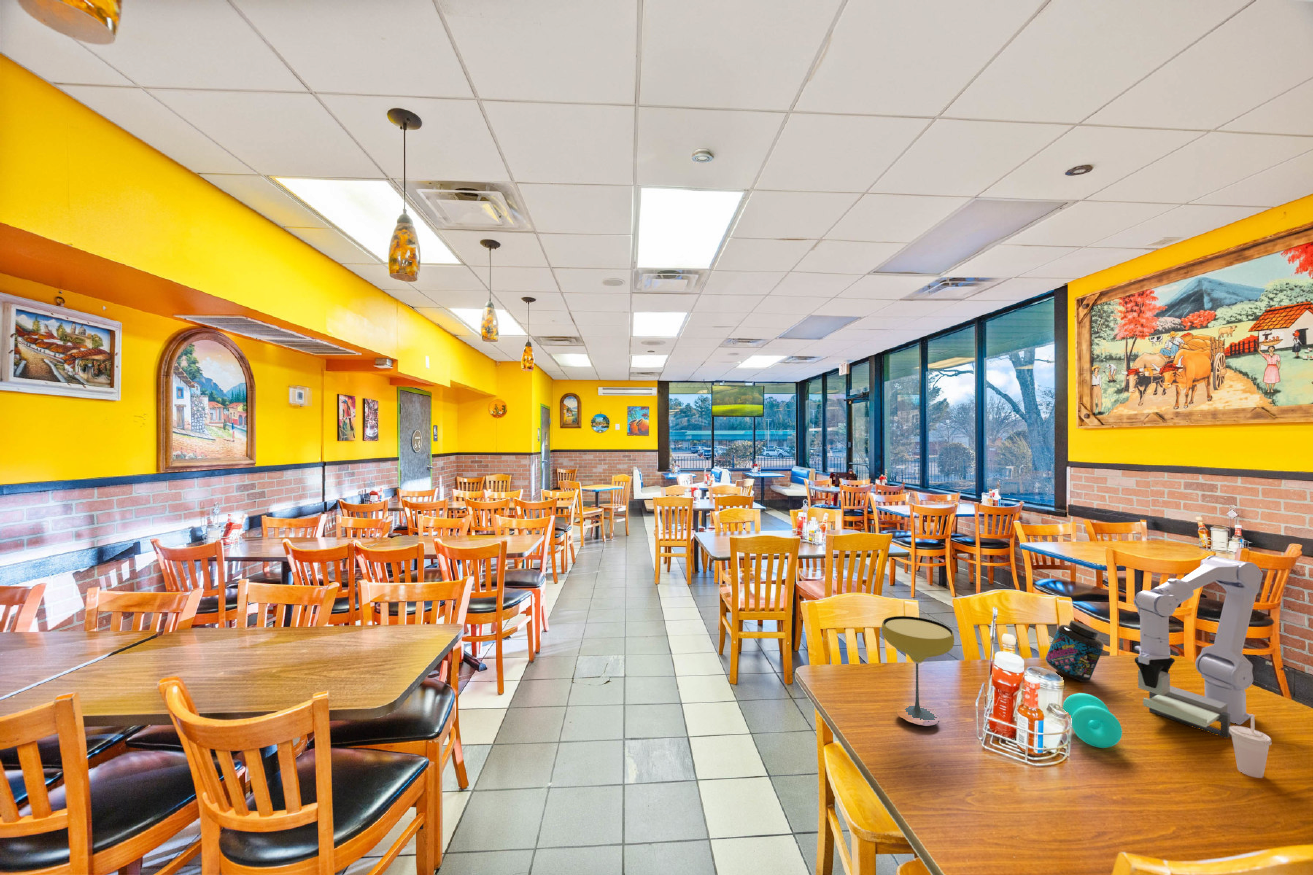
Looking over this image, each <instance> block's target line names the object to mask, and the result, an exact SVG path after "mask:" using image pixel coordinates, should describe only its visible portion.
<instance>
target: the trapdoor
mask: <svg viewBox="0 0 1313 875" xmlns="http://www.w3.org/2000/svg"><path fill="white" fill-rule="evenodd" d="M1142 705H1143V707H1147V708H1152V709H1155V710H1157V711H1160V712H1163V713H1166V714H1169V715H1172V716H1174V717H1177V718H1180V719H1183V720H1186V721H1189V722H1192V723H1194V724H1197V725H1200V726H1203V727H1207V726H1210V725H1212V724H1213V723H1214V722H1219V723H1221V713H1223V712H1226V713H1228V708H1227V704H1226V703H1223V702H1220V701H1217V700H1214V699H1210V698H1207V697H1205V695H1204V696H1203V695H1201V694H1197V693H1194V692H1191V691H1187V690H1186V689H1182V688H1179V687H1175V686H1172V685H1170V692H1169V693H1167V694H1165V695H1163V696H1161V695H1156V696H1154V697H1152V698H1150V699H1149V698H1147V697H1143V698H1142Z"/></svg>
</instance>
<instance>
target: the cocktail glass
mask: <svg viewBox="0 0 1313 875" xmlns="http://www.w3.org/2000/svg"><path fill="white" fill-rule="evenodd" d="M881 634H882V637H883V638H884V640H885V641H886V642H887V643H888V644H889V645H891V646H892V647H893V648H895V649H897V650H898V651H901V652H902V653H903V654H906V655H907V656H909V658H910V659H911V661H913V662H914V664H915V702H914V705H915V706H909V707H908V708H906V709H905V710H906V712H908V715H912V717H913V718H920V720H921V719H923V720H935V719H934V718H937V717H935V716H934V714H932V713H930V711H931V710H930V711H927V709H928V708H926V709H924V708H925V707H923V708H920V707H921V706H920V699H919V698H920V696H919V690H920V688H919V665H920V664H921V663H923V661H925V660H926V659H928V658H933V657H934V658H935V657H939V656H941V655H942V656H943V655H944V654H947V653H948V652H950V651H951V650H952V649H953V648H954V645H955V635H954V631H953V630H952V629H951V628H950V627H949V626H947V625H945V624H943V623H941V622H938V621H935V620H932V619H928V618H923V617H919V616H918V617H917V616H910V615H909V616H907V615H898V616H897V615H895V616H891V617H887V618H885V619H883V621H882V624H881ZM928 722H929V721H928Z"/></svg>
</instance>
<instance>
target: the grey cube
mask: <svg viewBox="0 0 1313 875" xmlns="http://www.w3.org/2000/svg"><path fill="white" fill-rule="evenodd" d="M1137 681H1138V682H1137V687H1138V689H1140V690H1144V691H1146V692H1148V693H1149V692H1152V693H1155V694H1158V695H1161V696H1163V695H1165V694H1167V693H1169V692H1170V686H1171V675H1170V672H1168V673H1166V672H1163V671H1160V673H1159V677H1158V683H1157V686H1156V688H1152V687H1149V686H1146V685H1145V683H1144V680H1143V677H1142V674H1141V671H1140V669H1139V668H1138V670H1137Z"/></svg>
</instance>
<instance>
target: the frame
mask: <svg viewBox="0 0 1313 875" xmlns="http://www.w3.org/2000/svg"><path fill="white" fill-rule="evenodd" d="M1148 694H1149V696H1148V699H1150V698H1152V697H1154V696H1156V695H1158V694H1155V693H1152V692H1149V691H1148ZM1148 708H1149V707H1148ZM1149 712H1150V713H1152V714H1155V715H1158V716H1161V717H1164V718H1166V719H1169V720H1171V721H1175V722H1178V723H1180V724H1182V725H1183V724H1184V725H1186V726H1189V727H1191V726H1193V727H1192V728H1194V727H1195V729H1197V728H1200V729H1203V730H1205V731H1209V732H1211V733H1214V734H1218V735H1220V736H1219V737H1221V736H1222V737H1221V738H1224V737H1226V738H1225V739H1227V738H1228V737H1229V738H1230V737H1232V735H1231V734H1230V732H1229V727H1230V726H1231V722H1230V714H1229V713H1226V712H1223V713H1221V722H1220V729H1218V728H1215V727H1212V726H1210V725H1209V726H1207V727H1203V726H1200V725H1197V724H1194V723H1192V722H1189V721H1186V720H1183V719H1180V718H1177V717H1174V716H1172V715H1169V714H1166V713H1163V712H1160V711H1157V710H1155V709H1152V708H1149V709H1148V713H1149ZM1200 729H1199V730H1200ZM1205 731H1204V732H1205ZM1211 733H1210V734H1211ZM1214 734H1213V735H1214ZM1229 738H1228V739H1229Z"/></svg>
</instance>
